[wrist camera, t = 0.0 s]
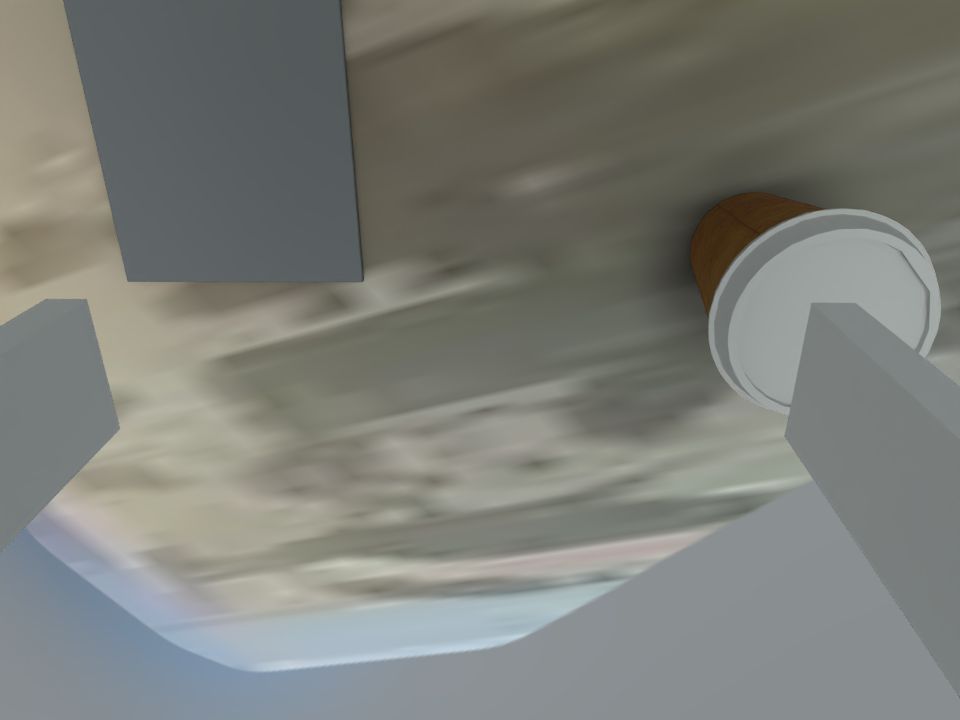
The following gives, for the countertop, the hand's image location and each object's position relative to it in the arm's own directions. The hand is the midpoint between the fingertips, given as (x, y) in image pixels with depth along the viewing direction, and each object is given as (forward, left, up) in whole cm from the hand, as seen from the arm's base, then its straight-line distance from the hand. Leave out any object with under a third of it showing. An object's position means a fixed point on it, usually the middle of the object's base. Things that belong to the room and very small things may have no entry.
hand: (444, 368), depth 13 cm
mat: (-2, -14, -28) cm, 32 cm away
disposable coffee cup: (+6, +15, -28) cm, 32 cm away
